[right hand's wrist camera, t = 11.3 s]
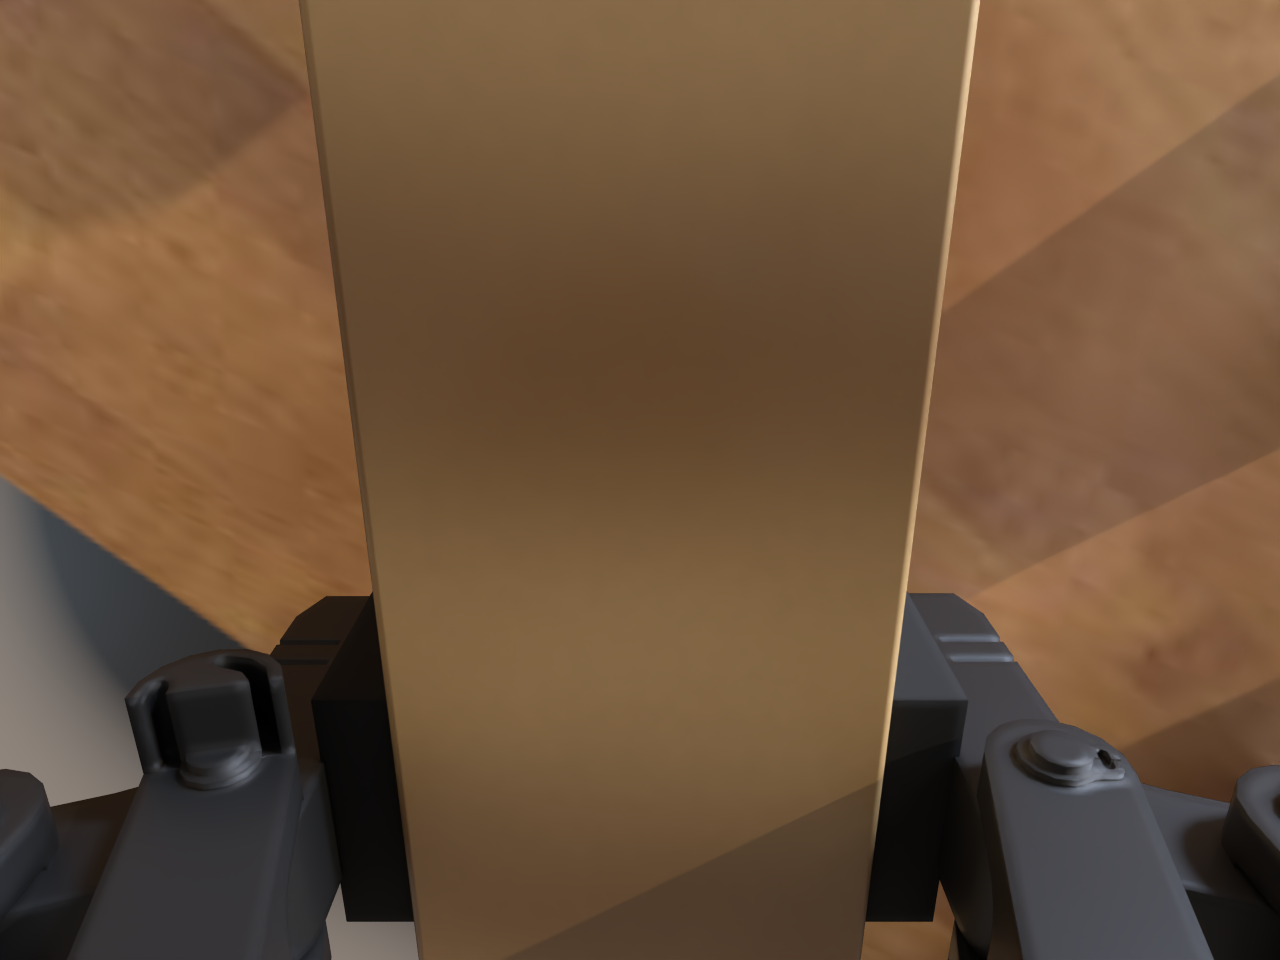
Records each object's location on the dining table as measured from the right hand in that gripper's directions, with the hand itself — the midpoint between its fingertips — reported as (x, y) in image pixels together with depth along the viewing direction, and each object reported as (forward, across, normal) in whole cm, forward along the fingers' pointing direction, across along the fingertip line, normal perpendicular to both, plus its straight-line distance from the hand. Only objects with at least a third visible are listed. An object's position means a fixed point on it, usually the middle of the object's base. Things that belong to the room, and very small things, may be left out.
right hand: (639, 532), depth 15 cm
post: (+1, 0, -28) cm, 28 cm away
